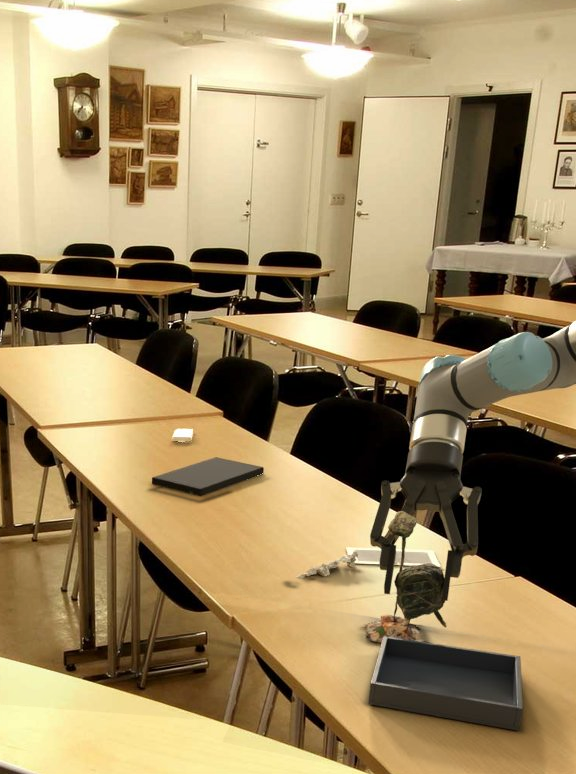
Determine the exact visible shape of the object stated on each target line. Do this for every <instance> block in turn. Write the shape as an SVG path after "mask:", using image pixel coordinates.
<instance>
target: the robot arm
mask: <svg viewBox="0 0 576 774" xmlns="http://www.w3.org/2000/svg"><path fill="white" fill-rule="evenodd" d="M421 370H422V371H421V374H420V379H419V383H418V384H417V389H416V394H417V395H416V401H415V408H414V415H413V422H412V425H411V426H412V427H411V433H410V440H409V447H408V449H409V451H408V453H407V460H406V461H407V462H406V467H405V472H404V476H403V477H402V478H401V479H400V481H396V482H390V481H389V480H382V481H381V483H380V484H381V485H380V490H381V492H380V493H381V498H380V501H379V505H378V508H377V511H376V515H375V517H374V521H373V525H372V528H371V530H370V534H369V540H370V543H369V544H370V545H371V546H372V547H373V548H376V547H377V548H378V549H381V555H380V562H379V564H378V565H379V570H380V571H386V572H385V578H384V584H383V593H384V595H391V589H392V581H393V576H394V570H395V565H394V564H395V557H396V549H397V544H396V543H397V541H398V540H399V538H400V536H397V535H389V537H387V538H384V535H383V532H384V528H385V525H386V522H387V519H388V515H389V512H390V510H391V504H392V499H395V498H396V497H397V494H398V492H401V493H402V495H403V496H404V498H405V499H406V500H405V502H404V505H403V506H402V508H401V509H400V511H404V512H406V513H407V514H409V515H411V516H413V517H414V515H415V513H416V512H417V511H431V512H437V513H439V517H440V519H441V522H442V524H443V527H444V530H445V534H446V536H447V541H448V544H449V547H450V549H448V550H447V555H446V563H445V569H444V585H443V593H442V600H445V602H447V601H448V599H449V592H450V585H451V578H454V579H455V578H456V579H458V578H459V577H460V575H461V570H462V564H463V563H462V562H463V558H464V557H467V556H471V557H474V556H476V555H477V553H478V548H479V517H478V514H479V513H478V512H479V511H478V506H479V503H480V502H481V497H482V492H483V490H482V489H483V488H481V487H480V486H474V487H473V488H471V487H467V486H464V485H463V482H462V480H461V476H462V475H461V474H462V468H463V460H464V455H463V454H464V451H465V443H466V436H467V430H468V422H469V416H470V415H471V414H472V413H474V412H476V411H479V410H482V409H484V408H486V407H488V406H490V405H493V404H495V403H498V402H501V401H503V400H505V399H508V398H512V397H515V396H516V397H517V396H522V395H527V394H528V395H529V394H532V393H538V392H543V391H549V390H554V389H555V390H556V389H565V388H566V389H567V388H570V387H572V386H575V385H576V320H575V321H573V322H572V323H570V324H568V325H567V326H564V327H562V328H561V329H559V330H558V331H556V332H554V333H553V334H551V335H549V336H546V337H544V338H542V337H540V336H539V335H535V334H534V333H533V332H529V331H523V332H519V333H516V334H514V335H512V336H510V337H506V338H503V339H501V340H499V341H498V342H497V343H495V344H493V345H492V346H490V347H488V348H486V349H484V350H482V351H480V352H479V353H476V354H475V355H472V356H470V357H468V358H466V357H464V356H460V355H457V354H447V355H445V356H436V357H435V358H432V359H430V360H429V361H427V363H425V365H424V366H423V368H422V369H421ZM460 496H462V498H463V499H462V500H463V503H464V504H465V505H467V507H466V543H463V540H462V537H461V534H460V531H459V528H458V524H457V521H456V518H455V516H454V515H455V514H454V512H453V508H452V503H453V502H454V501H455V500H456V499H458V498H459V497H460ZM387 532H389V529H388V530H387Z"/></svg>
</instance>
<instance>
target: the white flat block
mask: <svg viewBox="0 0 576 774" xmlns="http://www.w3.org/2000/svg"><path fill="white" fill-rule="evenodd" d="M192 437H193V438H194V429H193V428H176V429H174V432H173V434H172V437H171V442H172V441H178V442H182V443H181V444H184V443H183V442H185V441H191V440H192V441H193V438H192ZM192 441H191V442H192ZM178 442H177V443H178ZM185 443H186V442H185Z"/></svg>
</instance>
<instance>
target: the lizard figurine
mask: <svg viewBox="0 0 576 774" xmlns="http://www.w3.org/2000/svg"><path fill="white" fill-rule="evenodd" d="M357 556H358V554H357V552H355V551H353V554H351V555H348V554H342V556H341V557H340V558H338V559H334V560H332V561H328V562H326V563H322V564H321V565H319V566H317V567H316V566H312V567H310V568H309V569H308V570H307V571H306V573H301V574H298V575H295V578H297V579H304V578H306V577H311V576H313V575H317V574H319V575H320V576H322V577H327V576H330V574H331V573H330V570H331V569H335V568H337V567H338V566H339V565H340V563H342V564H346V565H347V566H349V567H350V568H353V569H355V568H357V566H356V563H355V561H356V558H355V557H357ZM357 558H358V557H357Z"/></svg>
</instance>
